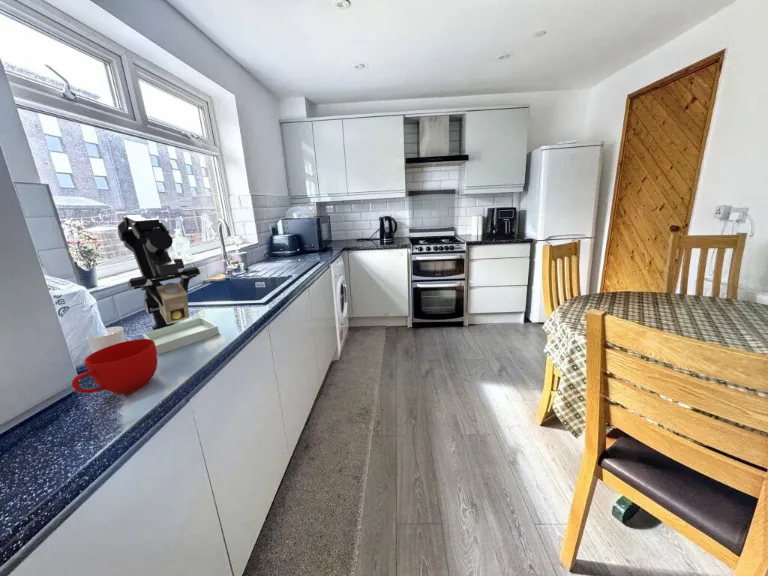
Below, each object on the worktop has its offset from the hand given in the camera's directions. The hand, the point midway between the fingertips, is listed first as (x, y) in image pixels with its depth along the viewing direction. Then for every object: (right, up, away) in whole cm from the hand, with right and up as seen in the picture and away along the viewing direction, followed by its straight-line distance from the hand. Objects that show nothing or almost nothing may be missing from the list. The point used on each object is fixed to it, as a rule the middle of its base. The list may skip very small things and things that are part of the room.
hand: (174, 303), depth 97 cm
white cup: (-10, -17, -10) cm, 22 cm away
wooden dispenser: (-3, -4, +4) cm, 7 cm away
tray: (-1, -12, +5) cm, 13 cm away
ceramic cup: (+5, -20, -25) cm, 33 cm away
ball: (-1, -4, +2) cm, 5 cm away
